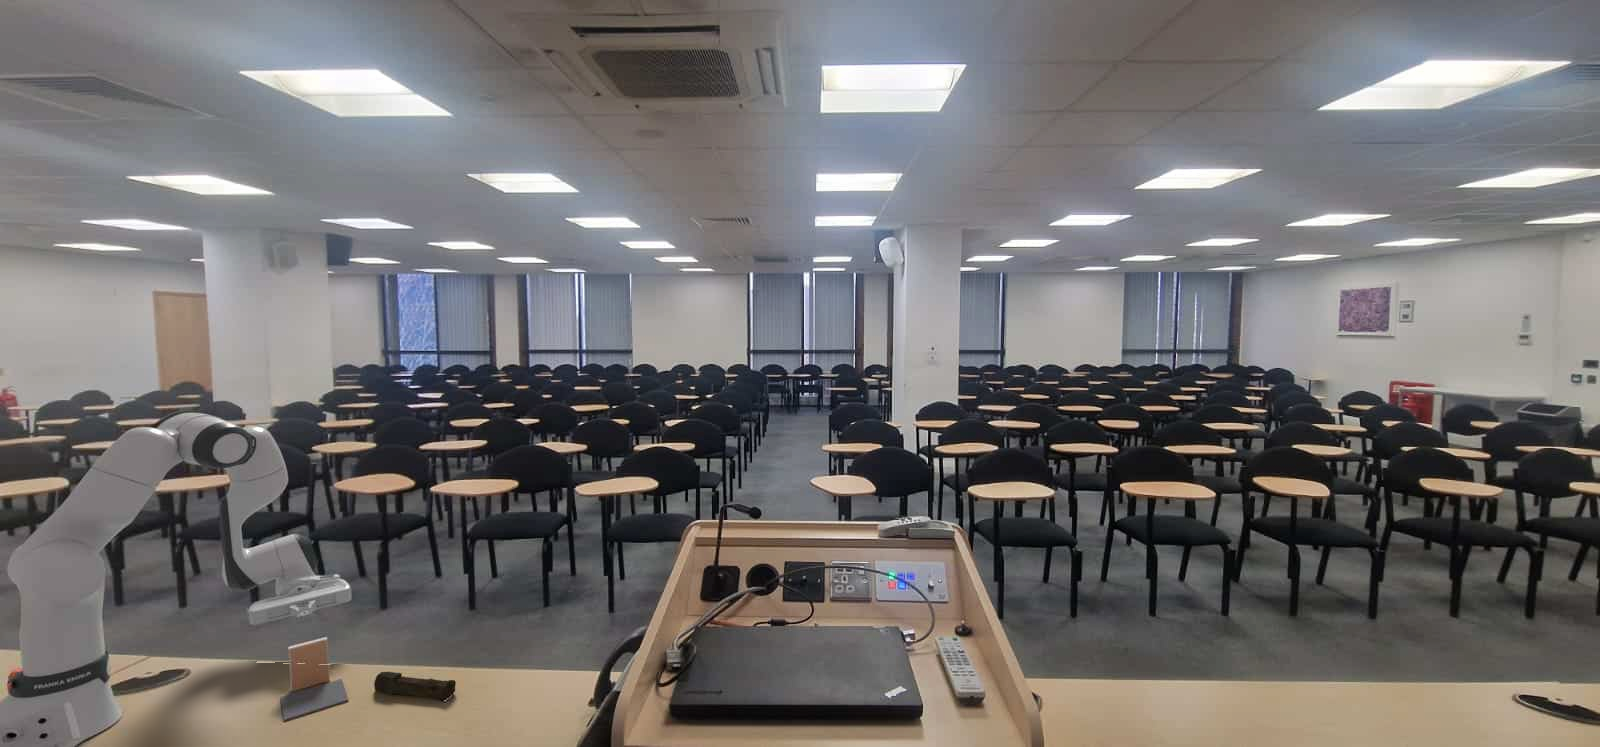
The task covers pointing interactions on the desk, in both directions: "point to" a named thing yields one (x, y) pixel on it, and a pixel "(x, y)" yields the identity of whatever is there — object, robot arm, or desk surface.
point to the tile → (309, 664)
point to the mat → (313, 699)
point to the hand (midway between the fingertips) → (304, 613)
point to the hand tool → (413, 686)
